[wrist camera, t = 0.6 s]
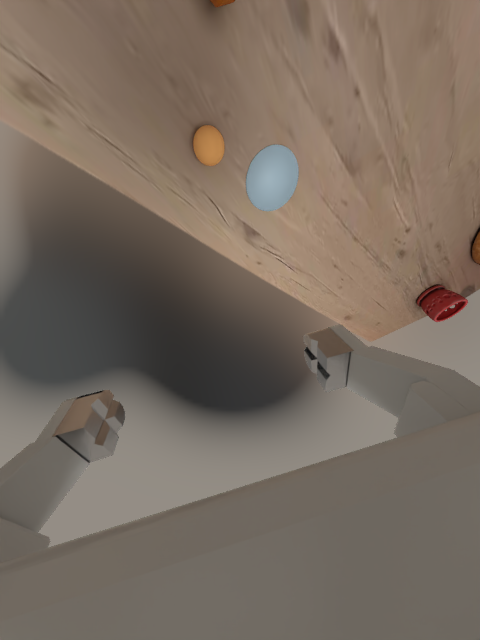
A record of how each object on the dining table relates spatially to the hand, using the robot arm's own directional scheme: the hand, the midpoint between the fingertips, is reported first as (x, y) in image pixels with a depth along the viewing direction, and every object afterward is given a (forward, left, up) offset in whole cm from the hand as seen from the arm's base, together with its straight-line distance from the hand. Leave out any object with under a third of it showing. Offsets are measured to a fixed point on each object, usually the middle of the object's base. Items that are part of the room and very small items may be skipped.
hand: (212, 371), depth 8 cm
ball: (-6, +5, -42) cm, 42 cm away
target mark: (-6, +20, -44) cm, 49 cm away
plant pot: (+4, +115, -45) cm, 123 cm away
